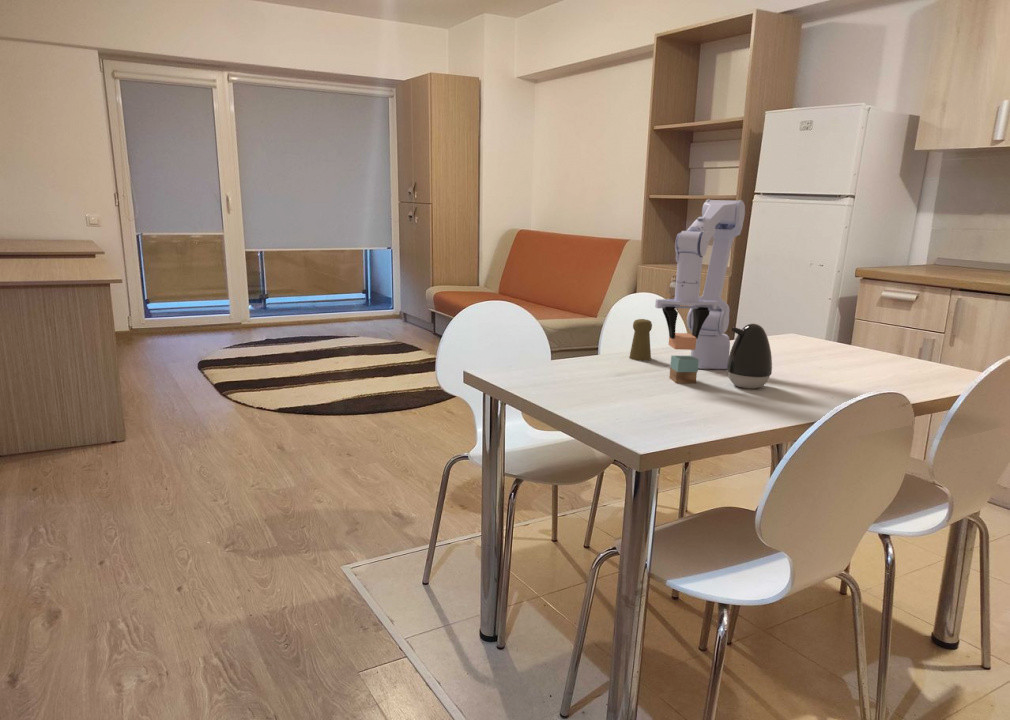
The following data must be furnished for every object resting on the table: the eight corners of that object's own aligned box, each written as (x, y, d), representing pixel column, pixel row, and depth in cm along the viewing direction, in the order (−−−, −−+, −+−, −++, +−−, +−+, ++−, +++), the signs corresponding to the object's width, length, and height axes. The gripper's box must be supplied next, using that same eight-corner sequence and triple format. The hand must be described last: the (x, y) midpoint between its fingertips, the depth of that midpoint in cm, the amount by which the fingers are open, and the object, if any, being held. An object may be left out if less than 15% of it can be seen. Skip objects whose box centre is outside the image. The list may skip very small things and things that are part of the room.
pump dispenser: (717, 381, 171) (723, 320, 167) (757, 380, 172) (763, 320, 169) (735, 391, 161) (742, 327, 157) (777, 391, 162) (785, 327, 159)
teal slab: (689, 367, 172) (690, 355, 171) (697, 372, 167) (698, 360, 167) (670, 367, 171) (671, 355, 171) (677, 372, 167) (678, 359, 166)
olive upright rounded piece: (652, 361, 191) (655, 321, 189) (630, 360, 191) (633, 320, 189) (648, 356, 197) (651, 318, 195) (627, 355, 197) (630, 317, 195)
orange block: (688, 345, 172) (689, 333, 171) (695, 349, 167) (696, 337, 166) (668, 344, 172) (669, 332, 171) (675, 349, 167) (676, 337, 166)
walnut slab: (688, 379, 173) (689, 367, 172) (695, 384, 168) (696, 372, 167) (669, 378, 172) (670, 367, 172) (675, 384, 167) (676, 371, 167)
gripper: (663, 283, 161) (658, 340, 164) (723, 284, 162) (718, 341, 165) (654, 280, 168) (650, 335, 171) (713, 281, 169) (708, 336, 172)
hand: (683, 338), depth 168 cm, fingers closed on orange block, 5 cm apart
